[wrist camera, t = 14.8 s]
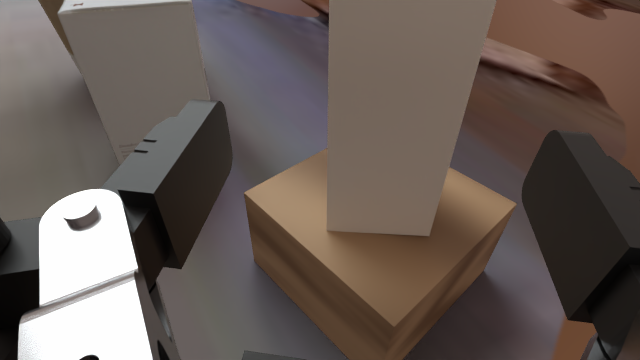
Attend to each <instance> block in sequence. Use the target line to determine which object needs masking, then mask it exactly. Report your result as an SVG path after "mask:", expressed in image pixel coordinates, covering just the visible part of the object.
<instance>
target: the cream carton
mask: <svg viewBox="0 0 640 360" xmlns="http://www.w3.org/2000/svg"><path fill="white" fill-rule="evenodd" d="M495 3H496V0H329V73H328V148H327V224H326V231H340V232H358V233H378V234H397V235H416V236H429V235H430V232H431V228H432V225H433V221H434V218H435V214H436V211H437V207H438V203H439V200H440V196H441V193H442V189H443V186H444V182H445V179H446V175H447V172H448V168H449V165H450V161H451V158H452V154H453V151H454V147H455V144H456V140H457V137H458V133H459V130H460V126H461V123H462V119H463V116H464V112H465V109H466V105H467V102H468V98H469V95H470V91H471V88H472V84H473V81H474V77H475V74H476V70H477V67H478V63H479V60H480V56H481V53H482V49H483V46H484V42H485V39H486V35H487V32H488V28H489V25H490V21H491V18H492V14H493V11H494V7H495Z"/></svg>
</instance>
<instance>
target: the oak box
mask: <svg viewBox="0 0 640 360" xmlns="http://www.w3.org/2000/svg"><path fill="white" fill-rule="evenodd" d="M244 196H245V203H246V209H247V216H248V222H249V229H250V235H251V242H252V249H253V255H254V261H255V262H256V263H257V264H258V265H259V266H260V267H261V268H262V269H263V270H264V271H265V272H266V273H267V274H268V275H269V276H270V278H271V279H272V280H273V281H274V282H275V283H276V284H277V285H278V286H279V287H280V288H281V289H282V290H283V291H284V292H285V293H286V294H287V295H288V296H289V297H290V298H291V299H292V300H293V301H294V302H295V304H296V305H297V306H298V307H299V308H300V309H301V310H302V311H303V312H304V313H305V314H306V315H307V316H308V317H309V318H310V319H311V320H312V321H313V322H314V323H315V324H316V325H317V326H318V327H319V329H320V330H321V331H322V332H323V333H324V334H325V335H326V336H327V337H328V338H329V339H330V340H331V341H332V342H333V343H334V344H335V345H336V346H337V347H338V348H339V349H340V350H341V351H342V352H343V353H344V355H345V356H346V357H347V358H348V359H349V360H402V359H403V358H404V357H405V356H406V355H407V354H408V353H409V352H410V351H411V349H412V348H413V347H414V346H415V345H416V344H417V343H418V342H419V341H420V340H421V338H422V337H423V336H424V335H425V334H426V333H427V332H428V331H429V330H430V329H431V328H432V326H433V325H434V324H435V323H436V322H437V321H438V320H439V319H440V318H441V317H442V316H443V314H444V313H445V312H446V311H447V310H448V309H449V308H450V307H451V306H452V305H453V303H454V302H455V301H456V300H457V299H458V298H459V297H460V296H461V295H462V294H463V293H464V291H465V290H466V289H467V288H468V287H469V286H470V285H471V284H472V283H473V282H474V281H475V279H476V278H477V277H478V276H479V275H480V274H481V273H482V272H483V271H484V269H485V267H486V265H487V263H488V261H489V259H490V257H491V255H492V253H493V251H494V249H495V247H496V245H497V243H498V241H499V239H500V237H501V235H502V233H503V231H504V229H505V227H506V225H507V223H508V221H509V219H510V217H511V215H512V213H513V211H514V209H515V207H516V205H517V204H516V203H514V202H512V201H511V200H509V199H507V198H505V197H503V196H501V195H500V194H498V193H496V192H494V191H492V190H490V189H489V188H487V187H485V186H483V185H481V184H479V183H478V182H476V181H474V180H472V179H470V178H468V177H467V176H465V175H463V174H461V173H459V172H457V171H456V170H454V169H452V168H450V167H449V168H448V172H447V175H446V179H445V182H444V186H443V189H442V193H441V196H440V200H439V203H438V207H437V211H436V214H435V218H434V221H433V225H432V228H431V232H430V235H429V236H416V235H397V234H378V233H358V232H340V231H326V224H327V148H326V149H324V150H323V151H321V152H319V153H317V154H315V155H313V156H311V157H309V158H308V159H306V160H304V161H302V162H300V163H298V164H296V165H295V166H293V167H291V168H289V169H287V170H285V171H283V172H281V173H280V174H278V175H276V176H274V177H272V178H270V179H268V180H267V181H265V182H263V183H261V184H259V185H257V186H255V187H253V188H252V189H250V190H248V191H246V192H244Z"/></svg>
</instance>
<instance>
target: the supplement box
mask: <svg viewBox="0 0 640 360" xmlns="http://www.w3.org/2000/svg"><path fill="white" fill-rule="evenodd" d="M57 15H58V17H59V19H60V22H61V24H62V27H63V29H64V32H65V34H66V37H67V39H68V42H69V44H70V46H71V49H72V51H73V54H74V56H75V59H76V61H77V63H78V66H79V68H80V71H81V73H82V76H83V78H84V80H85V83H86V85H87V88H88V90H89V92H90V95H91V97H92V100H93V102H94V105H95V107H96V110H97V112H98V114H99V117H100V119H101V122H102V124H103V127H104V129H105V131H106V134H107V136H108V139H109V141H110V143H111V146H112V148H113V151H114V153H115V156H116V158H117V161H118V163H119V166H120V165H121V164H122V163H123V162H124V161H125V159H126V158H127V157H128V156H129V155H130V154H131V153H132V152H134V149H135V148H136V147H137V146H138V144H139V143H140V142H143V139H144V138H145V136H146V135H147V134H148V133H149V132H150V131H151V129H152V128H153V127H154V126H156V125H157V124H159V123H161V122H163V121H164V120H166V119H168V118H169V117H171V116H172V117H177V115H178V114H179V113H180V112H181V110H182V109H183V108H184V107H185V106H186V104H187V103H188V102H189V101H190V100H191V99H198V100H209V101H210V95H209V90H208V84H207V79H206V74H205V68H204V63H203V57H202V52H201V47H200V41H199V36H198V30H197V25H196V20H195V14H194V10H193V5H192V1H191V0H64V2H63V4H62V6H61V8H60V10H59V11H58V13H57Z"/></svg>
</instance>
